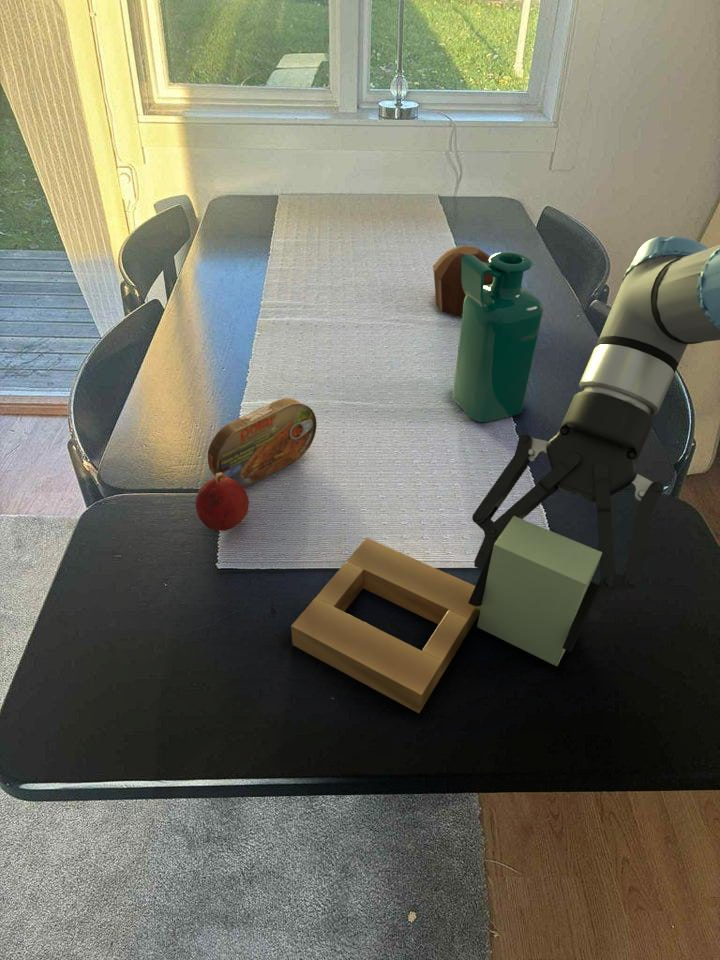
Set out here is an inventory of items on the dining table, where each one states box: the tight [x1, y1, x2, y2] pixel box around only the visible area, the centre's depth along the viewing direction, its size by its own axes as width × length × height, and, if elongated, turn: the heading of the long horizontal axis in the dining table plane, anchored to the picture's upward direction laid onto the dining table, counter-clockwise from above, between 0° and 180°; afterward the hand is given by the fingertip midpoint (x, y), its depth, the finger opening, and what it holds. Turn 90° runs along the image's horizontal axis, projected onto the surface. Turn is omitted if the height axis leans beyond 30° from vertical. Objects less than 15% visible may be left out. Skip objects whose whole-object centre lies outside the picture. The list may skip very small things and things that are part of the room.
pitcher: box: [451, 251, 544, 423], centre depth 93 cm, size 10×8×22 cm
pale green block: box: [476, 516, 602, 667], centre depth 66 cm, size 4×8×12 cm, turn 57°
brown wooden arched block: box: [432, 244, 493, 318], centre depth 121 cm, size 12×11×10 cm
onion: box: [195, 472, 250, 532], centre depth 78 cm, size 6×6×8 cm
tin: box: [207, 397, 318, 489], centre depth 86 cm, size 15×3×8 cm, turn 132°
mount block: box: [290, 537, 482, 714], centre depth 69 cm, size 14×14×3 cm
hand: (519, 625), depth 66 cm, fingers closed on pale green block, 9 cm apart
